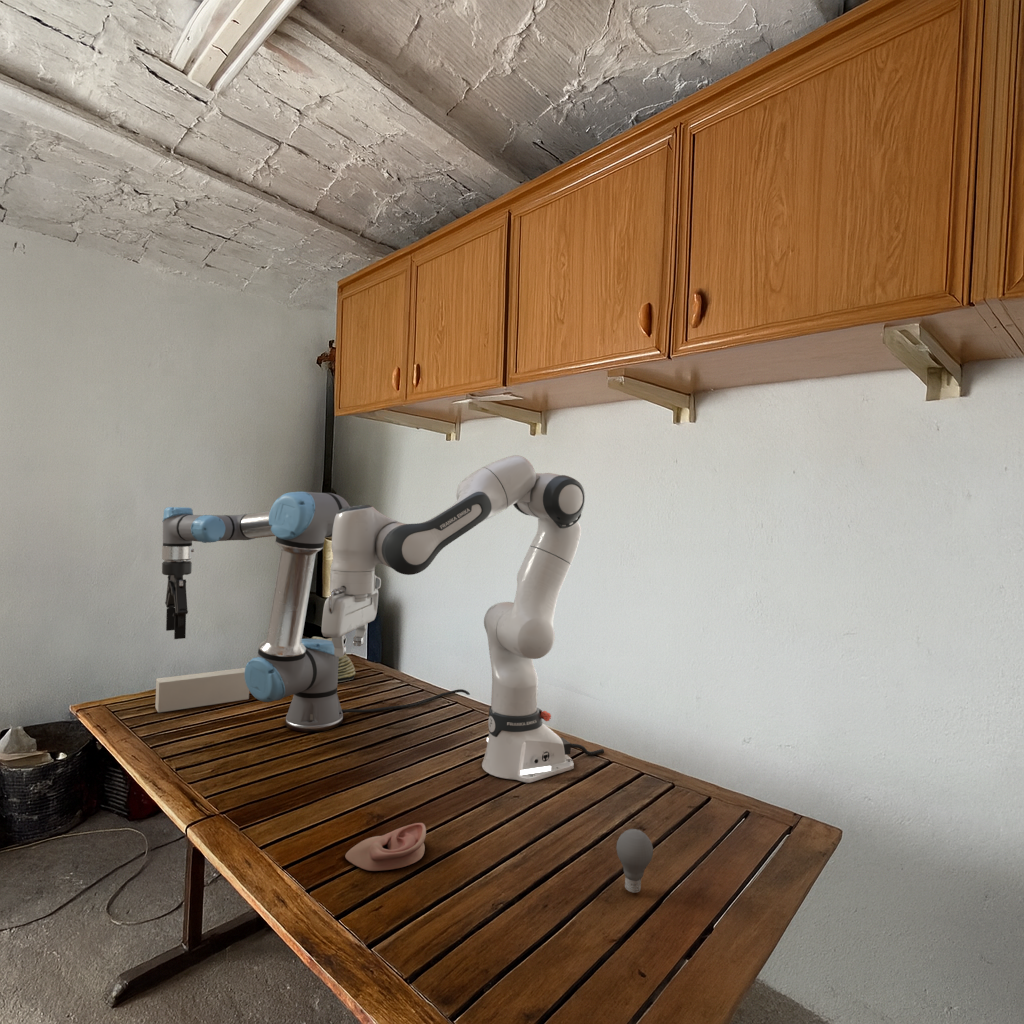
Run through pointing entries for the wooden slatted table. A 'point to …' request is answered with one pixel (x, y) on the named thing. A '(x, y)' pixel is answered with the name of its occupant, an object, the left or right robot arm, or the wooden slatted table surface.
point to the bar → (200, 689)
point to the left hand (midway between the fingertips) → (175, 634)
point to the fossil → (343, 666)
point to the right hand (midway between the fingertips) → (349, 650)
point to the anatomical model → (390, 849)
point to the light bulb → (634, 857)
